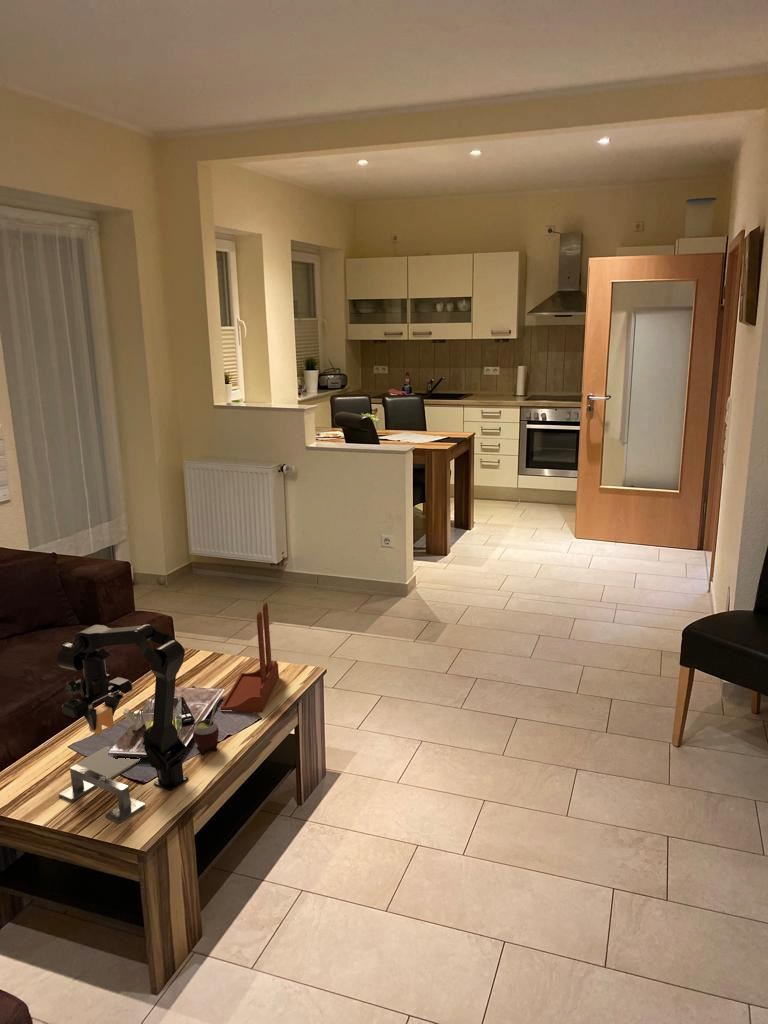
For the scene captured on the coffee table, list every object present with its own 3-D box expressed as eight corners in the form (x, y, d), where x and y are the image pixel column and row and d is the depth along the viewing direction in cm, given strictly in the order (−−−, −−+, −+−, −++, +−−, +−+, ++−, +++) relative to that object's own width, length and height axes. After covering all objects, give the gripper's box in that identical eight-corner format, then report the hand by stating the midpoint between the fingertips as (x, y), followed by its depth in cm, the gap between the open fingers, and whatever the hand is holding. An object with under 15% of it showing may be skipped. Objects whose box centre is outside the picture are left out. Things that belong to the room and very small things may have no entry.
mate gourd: (190, 754, 216) (185, 705, 213) (203, 740, 224) (199, 692, 220) (214, 757, 214) (210, 708, 211) (227, 743, 222) (223, 695, 218)
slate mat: (141, 760, 214) (140, 759, 214) (105, 782, 204) (105, 780, 204) (107, 747, 221) (107, 745, 221) (71, 768, 211) (71, 766, 211)
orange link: (114, 726, 211) (111, 707, 210) (99, 734, 207) (96, 715, 206) (104, 723, 213) (101, 704, 212) (89, 730, 209) (87, 711, 208)
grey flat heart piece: (140, 723, 234) (137, 699, 232) (145, 724, 234) (142, 700, 232) (125, 735, 228) (122, 710, 226) (130, 736, 227) (127, 711, 225)
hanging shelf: (241, 677, 264) (234, 594, 257) (278, 678, 262) (273, 594, 255) (220, 712, 240) (213, 621, 233) (262, 712, 239) (255, 622, 232)
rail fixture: (145, 806, 193) (142, 781, 192) (119, 824, 187) (116, 798, 185) (85, 780, 205) (82, 757, 204) (59, 796, 199) (55, 772, 197)
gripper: (103, 653, 218) (110, 704, 222) (45, 679, 203) (52, 733, 206) (130, 661, 212) (136, 713, 216) (72, 689, 197) (79, 744, 200)
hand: (101, 725), depth 210 cm, fingers closed on orange link, 5 cm apart
